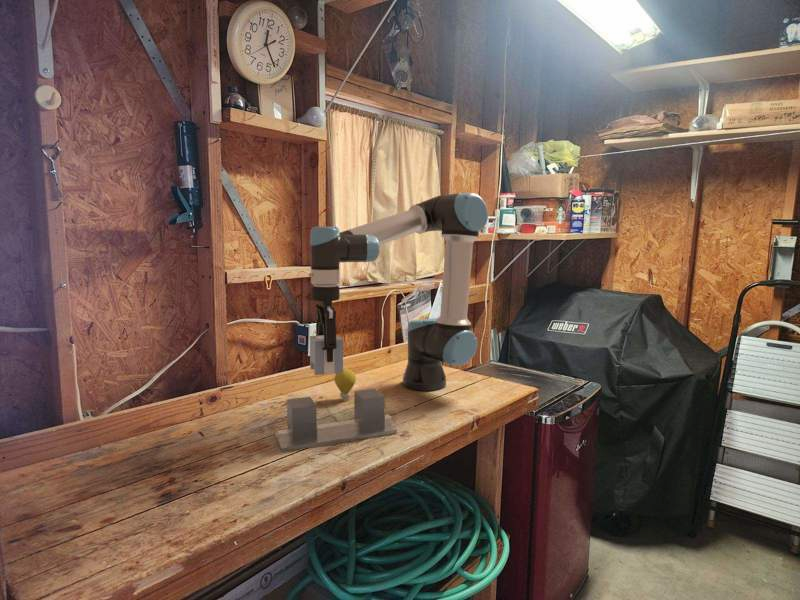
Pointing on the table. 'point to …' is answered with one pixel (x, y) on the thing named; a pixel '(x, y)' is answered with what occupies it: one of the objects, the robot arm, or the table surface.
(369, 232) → the robot arm
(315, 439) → the grey block holder
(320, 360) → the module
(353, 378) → the light bulb
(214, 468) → the table surface
